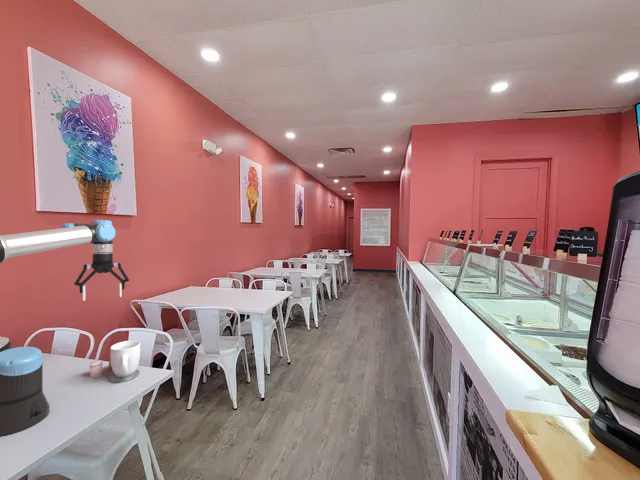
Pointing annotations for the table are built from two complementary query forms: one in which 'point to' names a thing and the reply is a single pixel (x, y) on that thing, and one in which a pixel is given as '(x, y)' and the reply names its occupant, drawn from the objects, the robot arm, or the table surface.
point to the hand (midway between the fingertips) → (103, 298)
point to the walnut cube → (110, 365)
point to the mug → (125, 358)
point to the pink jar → (96, 368)
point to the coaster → (116, 379)
